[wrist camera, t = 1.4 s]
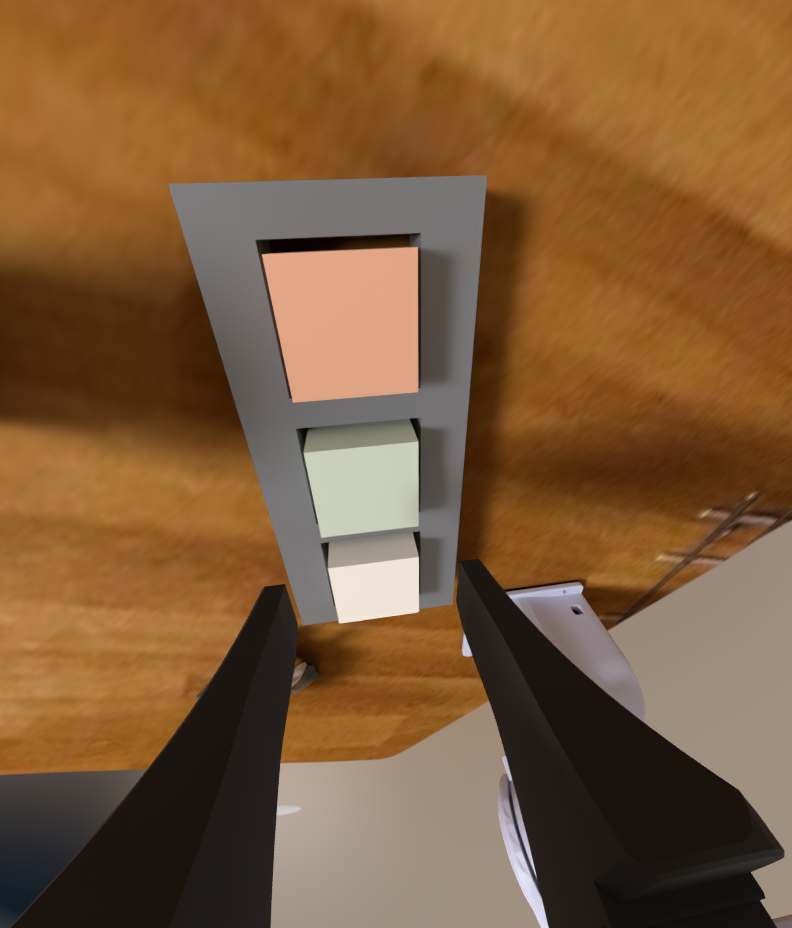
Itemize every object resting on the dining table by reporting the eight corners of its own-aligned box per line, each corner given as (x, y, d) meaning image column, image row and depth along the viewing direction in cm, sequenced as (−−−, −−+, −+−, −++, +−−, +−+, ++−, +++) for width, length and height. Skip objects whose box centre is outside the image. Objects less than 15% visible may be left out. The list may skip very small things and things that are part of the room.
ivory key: (410, 523, 21) (418, 556, 18) (411, 577, 23) (418, 612, 21) (329, 533, 20) (327, 568, 18) (339, 587, 23) (339, 623, 21)
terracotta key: (405, 246, 13) (417, 246, 11) (407, 371, 16) (418, 392, 14) (275, 252, 13) (261, 254, 11) (299, 380, 15) (293, 402, 13)
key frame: (464, 186, 14) (486, 175, 11) (443, 574, 26) (452, 604, 24) (197, 194, 13) (168, 184, 11) (306, 593, 25) (303, 625, 23)
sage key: (408, 416, 17) (418, 441, 15) (410, 494, 19) (418, 526, 17) (308, 425, 16) (303, 452, 14) (323, 504, 19) (321, 537, 17)
